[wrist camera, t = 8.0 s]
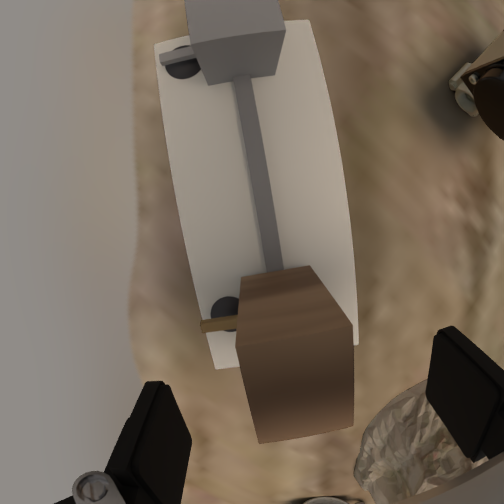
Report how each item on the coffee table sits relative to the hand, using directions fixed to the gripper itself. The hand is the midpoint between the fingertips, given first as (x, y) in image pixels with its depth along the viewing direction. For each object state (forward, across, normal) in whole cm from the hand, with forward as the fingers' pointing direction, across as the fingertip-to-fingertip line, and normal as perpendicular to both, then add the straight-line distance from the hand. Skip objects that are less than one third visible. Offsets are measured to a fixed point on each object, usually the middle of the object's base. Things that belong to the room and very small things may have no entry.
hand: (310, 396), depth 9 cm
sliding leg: (+9, +2, +1) cm, 9 cm away
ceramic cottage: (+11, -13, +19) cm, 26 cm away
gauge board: (+11, 0, -6) cm, 13 cm away
